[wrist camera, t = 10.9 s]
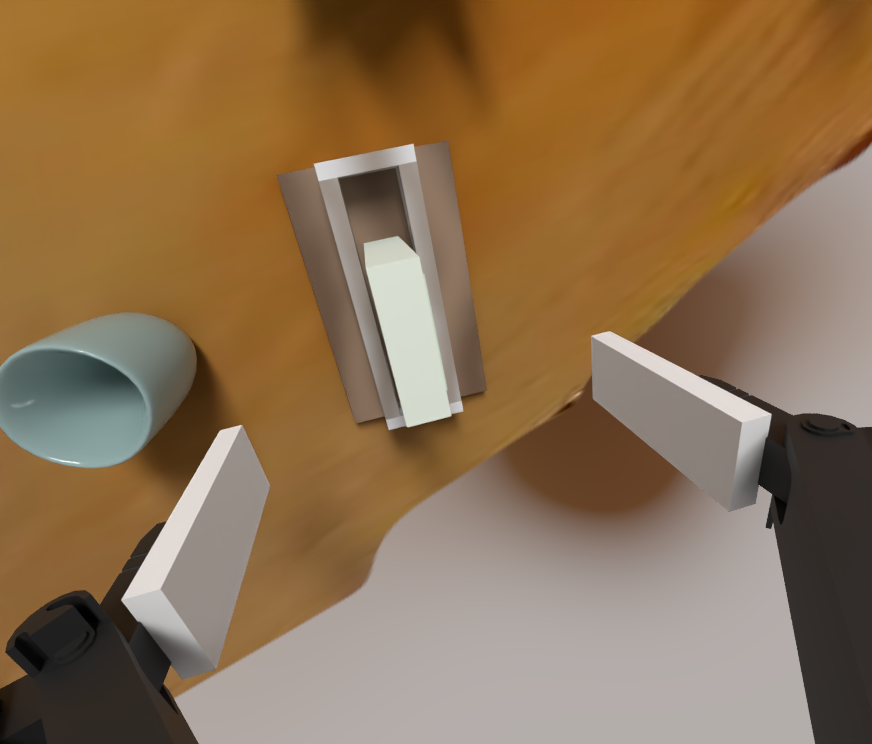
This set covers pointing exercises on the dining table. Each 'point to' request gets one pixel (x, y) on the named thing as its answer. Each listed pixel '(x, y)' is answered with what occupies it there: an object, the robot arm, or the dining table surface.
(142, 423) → the cup
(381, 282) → the pale rectangular block
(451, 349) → the track
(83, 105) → the dining table surface
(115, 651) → the robot arm
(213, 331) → the dining table surface
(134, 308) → the dining table surface
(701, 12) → the dining table surface
